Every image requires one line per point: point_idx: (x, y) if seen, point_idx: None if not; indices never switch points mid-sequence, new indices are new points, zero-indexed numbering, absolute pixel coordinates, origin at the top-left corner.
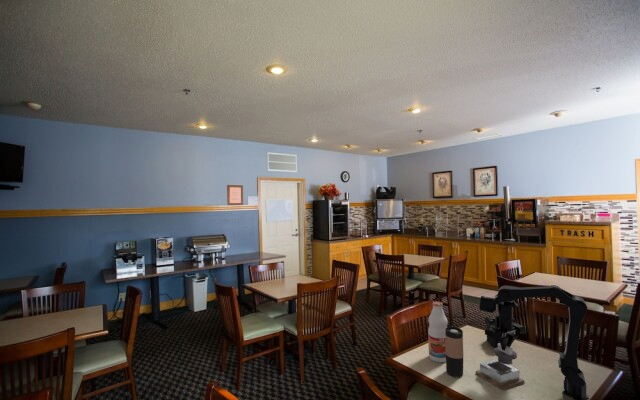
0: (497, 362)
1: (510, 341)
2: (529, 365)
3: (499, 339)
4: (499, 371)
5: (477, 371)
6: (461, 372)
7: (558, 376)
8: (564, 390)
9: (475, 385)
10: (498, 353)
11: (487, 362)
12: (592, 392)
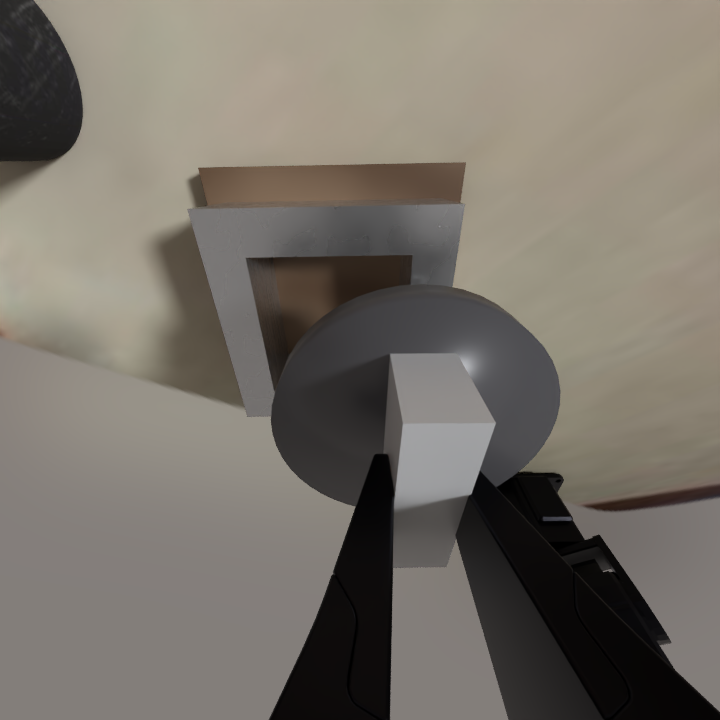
0: (401, 253)
1: (506, 682)
2: (716, 251)
3: (304, 695)
4: (389, 260)
5: (209, 183)
6: (14, 159)
7: (659, 401)
8: (513, 478)
9: (123, 298)
10: (289, 435)
11: (285, 228)
12: (595, 500)
